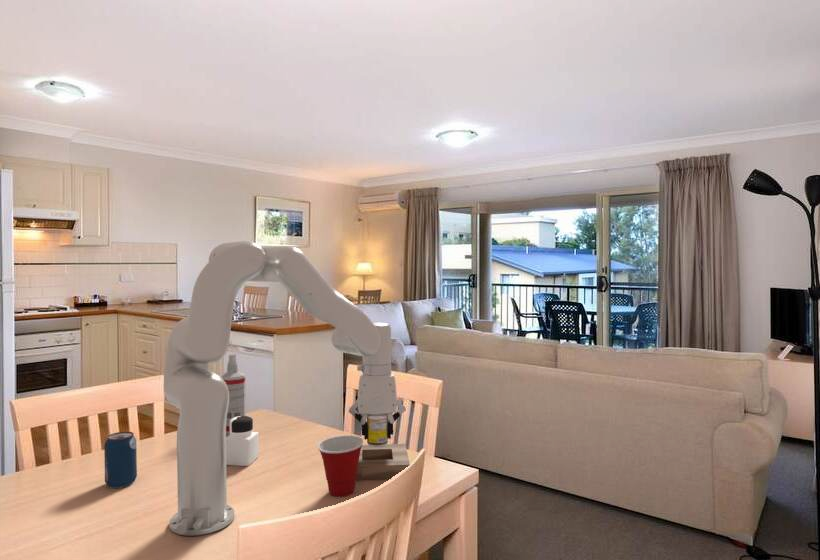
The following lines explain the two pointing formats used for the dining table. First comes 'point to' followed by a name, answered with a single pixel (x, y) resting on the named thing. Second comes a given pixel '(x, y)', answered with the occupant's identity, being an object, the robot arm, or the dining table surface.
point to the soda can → (120, 459)
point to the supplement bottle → (377, 430)
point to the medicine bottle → (242, 442)
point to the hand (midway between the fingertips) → (377, 436)
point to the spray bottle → (234, 391)
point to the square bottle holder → (381, 461)
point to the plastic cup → (341, 463)
